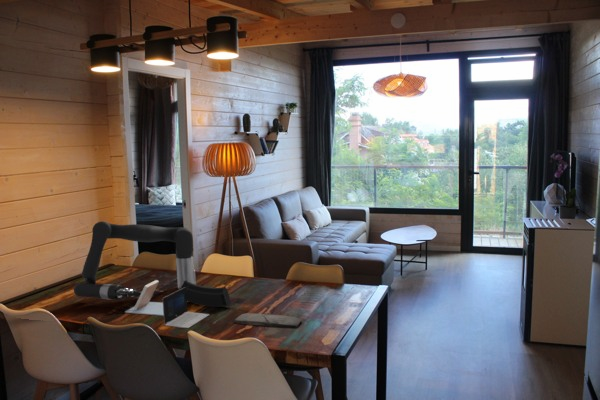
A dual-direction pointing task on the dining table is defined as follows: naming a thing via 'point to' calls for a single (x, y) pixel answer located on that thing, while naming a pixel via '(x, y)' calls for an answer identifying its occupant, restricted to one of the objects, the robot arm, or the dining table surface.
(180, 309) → the laptop
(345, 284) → the dining table surface
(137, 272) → the dining table surface
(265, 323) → the stone slab
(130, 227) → the robot arm
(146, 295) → the tile
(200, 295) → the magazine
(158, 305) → the mat
